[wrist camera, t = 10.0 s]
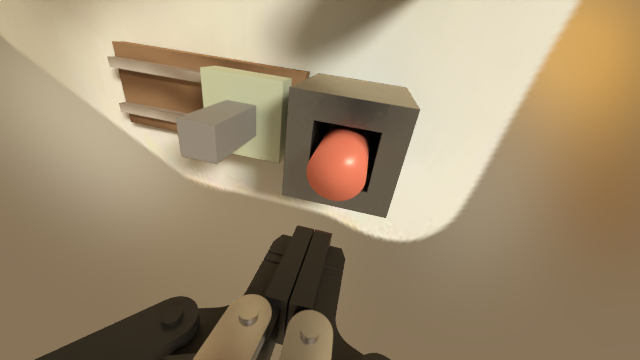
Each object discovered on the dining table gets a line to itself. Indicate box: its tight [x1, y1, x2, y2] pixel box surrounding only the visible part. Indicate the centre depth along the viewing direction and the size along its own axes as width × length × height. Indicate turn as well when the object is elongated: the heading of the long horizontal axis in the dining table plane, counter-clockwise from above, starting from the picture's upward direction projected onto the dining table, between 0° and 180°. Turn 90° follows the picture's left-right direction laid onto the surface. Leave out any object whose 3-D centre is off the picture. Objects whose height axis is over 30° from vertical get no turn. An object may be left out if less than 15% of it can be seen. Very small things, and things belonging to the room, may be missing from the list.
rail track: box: [108, 41, 310, 131], centre depth 29 cm, size 9×22×2 cm, turn 82°
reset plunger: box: [306, 124, 370, 201], centre depth 20 cm, size 4×4×6 cm
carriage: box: [176, 66, 292, 164], centre depth 23 cm, size 8×8×10 cm
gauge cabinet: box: [282, 73, 420, 218], centre depth 24 cm, size 9×9×10 cm
